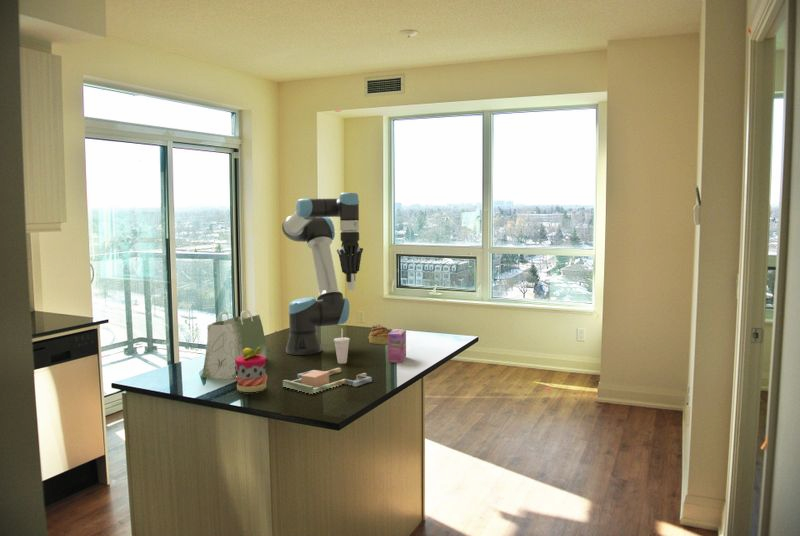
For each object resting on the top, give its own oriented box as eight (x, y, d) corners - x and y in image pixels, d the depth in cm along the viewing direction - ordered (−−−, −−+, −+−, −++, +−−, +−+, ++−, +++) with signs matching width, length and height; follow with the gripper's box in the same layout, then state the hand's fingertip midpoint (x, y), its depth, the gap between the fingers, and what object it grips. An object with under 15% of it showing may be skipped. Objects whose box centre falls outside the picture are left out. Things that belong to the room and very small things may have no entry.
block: (301, 388, 213) (301, 375, 213) (315, 382, 220) (315, 370, 220) (315, 390, 210) (315, 377, 210) (329, 384, 217) (328, 371, 217)
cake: (229, 391, 209) (228, 348, 208) (247, 383, 219) (246, 342, 218) (255, 394, 205) (254, 350, 204) (273, 386, 215) (271, 344, 214)
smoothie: (337, 365, 244) (336, 330, 243) (331, 361, 250) (331, 327, 249) (352, 363, 247) (351, 328, 246) (346, 359, 253) (345, 326, 252)
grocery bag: (237, 358, 259) (235, 304, 257) (268, 359, 257) (266, 304, 255) (200, 378, 228) (197, 316, 226) (235, 379, 225) (232, 317, 223)
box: (401, 362, 246) (401, 334, 245) (387, 362, 247) (387, 333, 246) (406, 357, 256) (406, 329, 255) (393, 356, 258) (392, 328, 257)
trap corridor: (329, 369, 238) (329, 363, 237) (377, 379, 222) (376, 372, 221) (273, 384, 217) (273, 378, 217) (321, 397, 201) (321, 390, 201)
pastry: (376, 337, 299) (376, 321, 298) (402, 340, 291) (402, 324, 290) (360, 342, 288) (360, 325, 287) (386, 345, 280) (386, 328, 279)
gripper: (344, 232, 238) (346, 292, 240) (367, 231, 248) (368, 288, 250) (331, 231, 243) (332, 290, 245) (354, 230, 253) (355, 287, 255)
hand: (351, 289), depth 248 cm, fingers closed
